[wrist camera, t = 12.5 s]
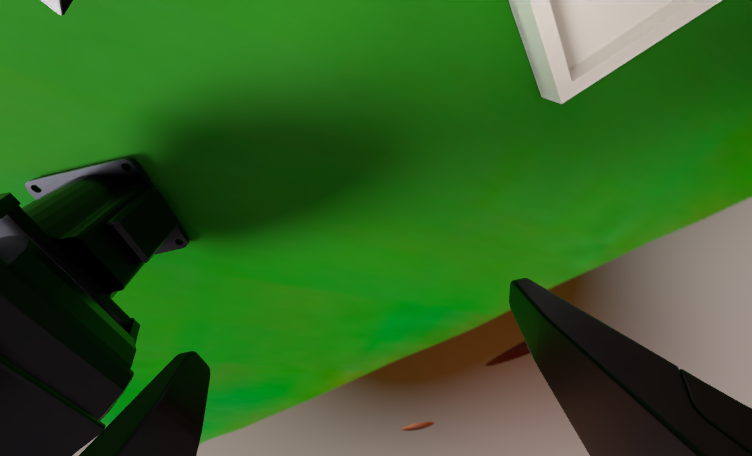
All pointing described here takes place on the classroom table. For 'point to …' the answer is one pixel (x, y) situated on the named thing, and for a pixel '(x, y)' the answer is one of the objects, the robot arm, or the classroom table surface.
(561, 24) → the white rectangular tray
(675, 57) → the classroom table surface
